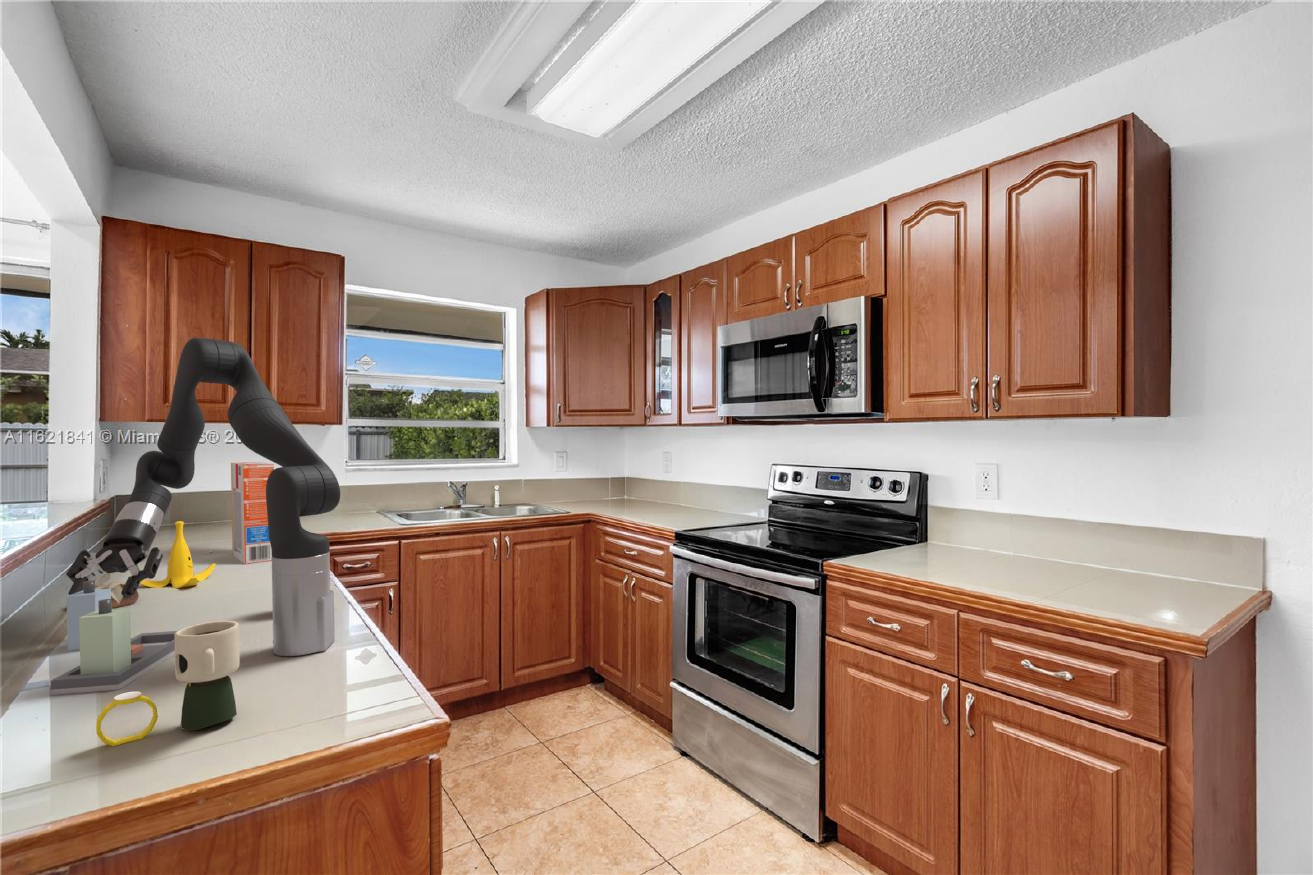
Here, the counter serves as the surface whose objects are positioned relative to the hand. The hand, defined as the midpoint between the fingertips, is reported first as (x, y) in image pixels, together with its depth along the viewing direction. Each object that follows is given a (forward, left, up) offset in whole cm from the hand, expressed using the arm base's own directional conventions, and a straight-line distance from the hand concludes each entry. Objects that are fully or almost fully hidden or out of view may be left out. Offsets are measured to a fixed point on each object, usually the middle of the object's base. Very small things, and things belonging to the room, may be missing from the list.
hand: (99, 597), depth 121 cm
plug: (0, +3, -8) cm, 9 cm away
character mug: (-38, +44, -8) cm, 59 cm away
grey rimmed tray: (-14, +16, -8) cm, 23 cm away
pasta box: (+6, -84, -9) cm, 85 cm away
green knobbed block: (-14, +23, -7) cm, 28 cm away
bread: (+16, -29, -9) cm, 34 cm away
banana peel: (+12, -48, -9) cm, 50 cm away
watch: (-30, +47, -9) cm, 56 cm away
